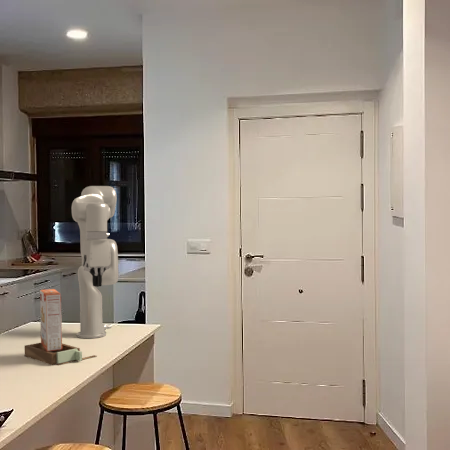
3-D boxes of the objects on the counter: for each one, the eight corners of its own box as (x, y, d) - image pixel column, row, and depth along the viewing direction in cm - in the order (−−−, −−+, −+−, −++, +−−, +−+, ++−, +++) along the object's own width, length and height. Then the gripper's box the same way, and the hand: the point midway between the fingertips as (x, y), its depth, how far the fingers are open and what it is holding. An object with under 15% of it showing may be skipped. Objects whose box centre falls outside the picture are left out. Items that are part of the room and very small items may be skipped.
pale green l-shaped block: (76, 358, 210) (76, 348, 210) (82, 360, 207) (81, 350, 207) (56, 363, 204) (56, 352, 204) (62, 364, 201) (62, 354, 201)
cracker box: (39, 344, 218) (39, 289, 218) (56, 342, 221) (55, 288, 220) (45, 352, 206) (44, 294, 205) (62, 350, 208) (62, 293, 208)
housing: (66, 347, 229) (66, 337, 229) (97, 356, 215) (97, 345, 215) (24, 356, 216) (24, 345, 216) (54, 366, 202) (54, 354, 202)
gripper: (107, 235, 218) (107, 283, 218) (73, 236, 207) (73, 287, 207) (119, 235, 213) (119, 285, 213) (85, 237, 202) (85, 289, 202)
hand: (97, 286), depth 210 cm, fingers closed
